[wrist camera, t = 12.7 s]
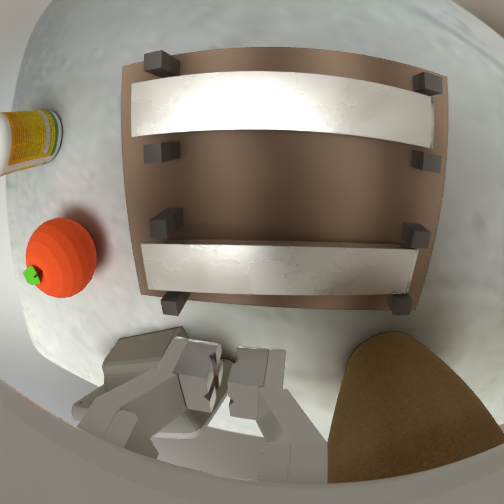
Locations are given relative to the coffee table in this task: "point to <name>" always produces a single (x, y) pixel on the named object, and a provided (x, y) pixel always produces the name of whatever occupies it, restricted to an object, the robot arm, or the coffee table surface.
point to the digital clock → (140, 361)
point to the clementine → (60, 258)
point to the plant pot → (403, 414)
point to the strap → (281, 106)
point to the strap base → (285, 176)
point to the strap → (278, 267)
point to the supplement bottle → (28, 139)
